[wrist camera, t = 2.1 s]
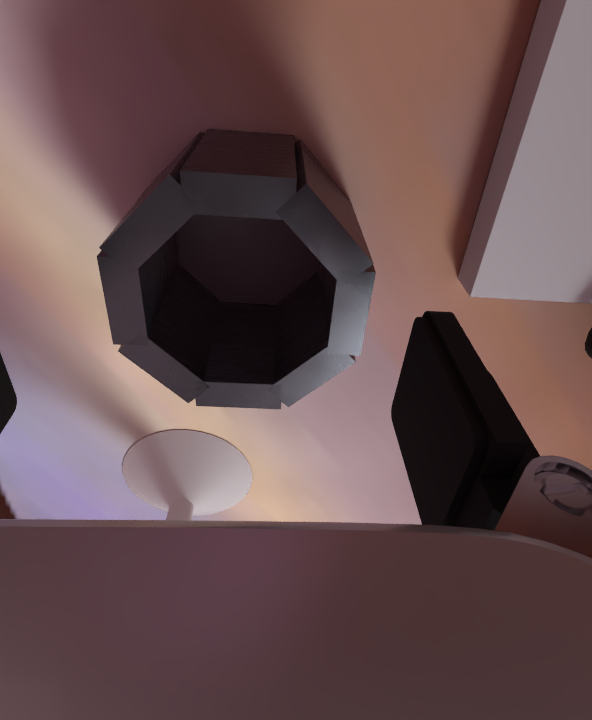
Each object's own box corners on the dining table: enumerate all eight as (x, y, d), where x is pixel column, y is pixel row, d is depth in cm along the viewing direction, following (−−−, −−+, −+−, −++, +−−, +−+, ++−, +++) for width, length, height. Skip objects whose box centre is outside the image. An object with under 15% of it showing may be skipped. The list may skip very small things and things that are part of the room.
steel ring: (335, 329, 19) (349, 411, 15) (158, 320, 19) (124, 402, 15) (363, 140, 15) (391, 185, 11) (135, 123, 15) (79, 163, 11)
